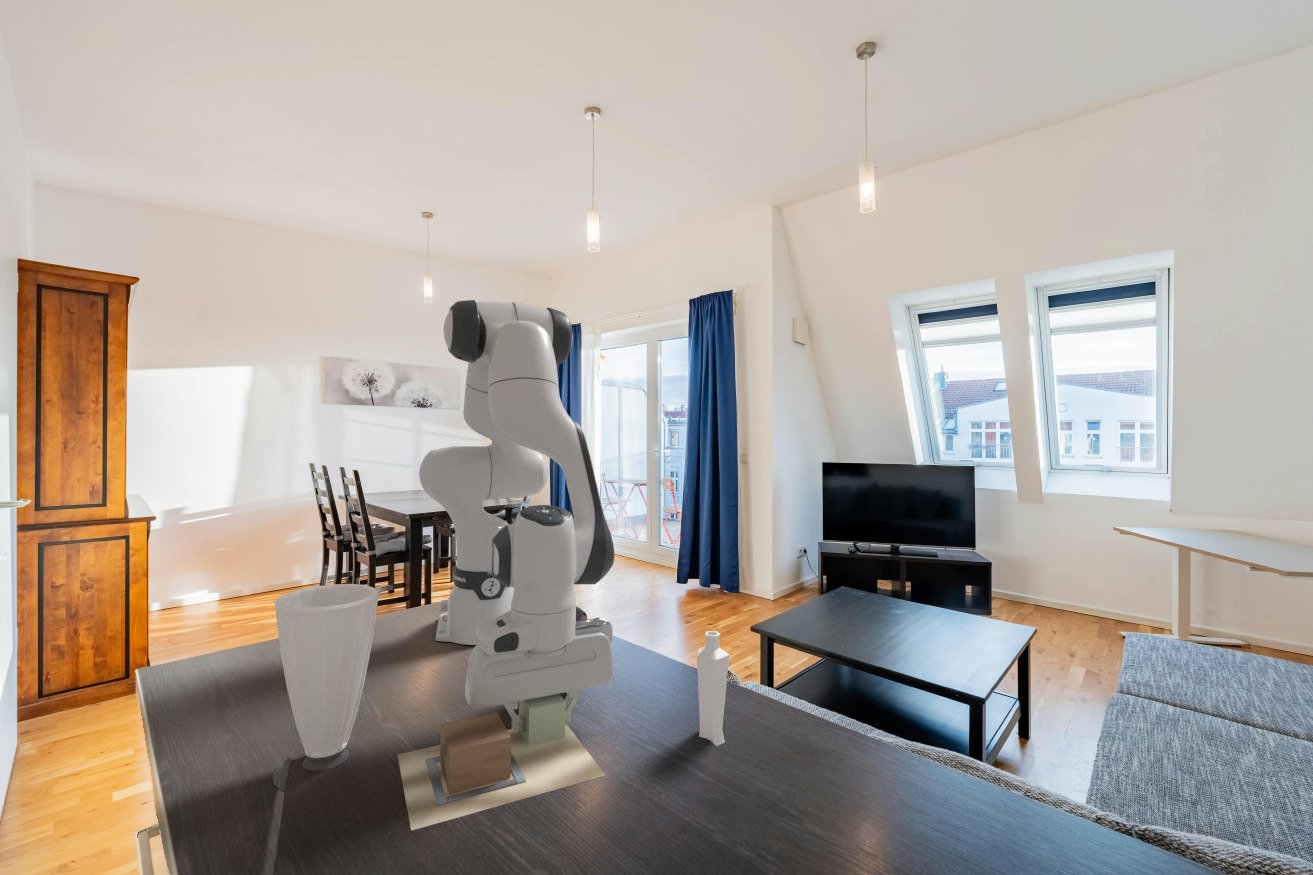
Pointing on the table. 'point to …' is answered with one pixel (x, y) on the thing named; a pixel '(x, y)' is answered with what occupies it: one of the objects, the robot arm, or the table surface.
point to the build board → (528, 778)
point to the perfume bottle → (712, 687)
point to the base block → (474, 752)
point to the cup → (325, 666)
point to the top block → (543, 719)
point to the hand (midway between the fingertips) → (541, 725)
